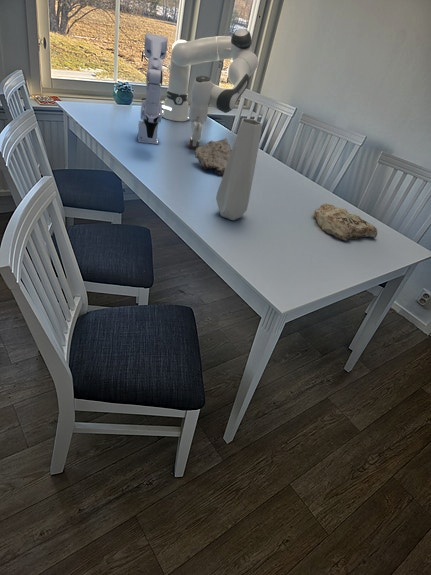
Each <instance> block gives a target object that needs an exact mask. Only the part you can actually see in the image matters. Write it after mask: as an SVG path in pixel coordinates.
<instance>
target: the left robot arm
mask: <svg viewBox="0 0 431 575" xmlns="http://www.w3.org/2000/svg"><path fill="white" fill-rule="evenodd" d="M168 41H169V38H168V36H164V35H159V34H153V33H148V32H145V33H144V46H143V48H144V51H143V52H144V56H145V57H147V58H148V60H147V70H146V75H145V76H146V77H145V83H146V84H145V85H146V86H145V87H146V94H145V98H146V100H142V102H141V105H140V106H141V107H140V120H138V124H137V125H138V126H137V127H138V128H137V129H138V130H137V142H138V143H144V144H153V145H159V141H158V131H159V124H160V123H162V119H163V117H162V108H163V107H162V105H161V104H160V103H161V92H162V86H163V82H164V81H163V80H164V71H163V60H166V57H167V52H168V43H169V42H168Z"/></svg>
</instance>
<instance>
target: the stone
mask: <svg viewBox="0 0 431 575" xmlns="http://www.w3.org/2000/svg"><path fill="white" fill-rule="evenodd" d="M313 216H314V219H315V220H316V223H317V226H318V227H319V228H321V230H322V231H324V232H325V233H326V234H329V235H330V236H334V237H335V238H336V239H339V240H342V241H344V242H346V241H347V240H352V239H353V240H354V239H355V240H356V239H360V238H362V237H363V238H366V237H367V238H371V239H375V238H377V236H378V229H377V227H376V226H374V225H373V224H372V223H370V222H368V221H367V220H364V219H362V217H361V216H358V214H357V215H356V214H355V213H353V214H351V213H349V212H348V209H345V208H340V207H338V206H334V205H333V204H329V203H323V204H321V205H320V207H319V209H316V210H314V214H313Z"/></svg>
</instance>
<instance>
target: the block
mask: <svg viewBox="0 0 431 575" xmlns="http://www.w3.org/2000/svg"><path fill="white" fill-rule="evenodd" d="M188 144H189V145H188V146H189V147H188V148H189V149H193V150H196V148H198V147H200V146H199V145H200V140H199V141H197V143H196V146H193V145H192V144H193V139H192V136H191V137H189V143H188Z"/></svg>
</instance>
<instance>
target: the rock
mask: <svg viewBox="0 0 431 575" xmlns="http://www.w3.org/2000/svg"><path fill="white" fill-rule="evenodd" d="M231 151H232V147H231V145H230V143H229V141H228V139H227V138H223V139H219V140H210V141H208V142H206V143H205V144H202V145H200V146H198V148H196V149H195V151H194V153H193V154H194V155H195V156H194V158H195V159H197V161H198V164H199V165H200V166H201V167H202V169H204V170H205V171H207V170H212V171H214V173H216V174H218V175H221V176H223V174H224V171H225V168H226V165H227V162H228V160H229V157H230V154H231Z"/></svg>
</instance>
